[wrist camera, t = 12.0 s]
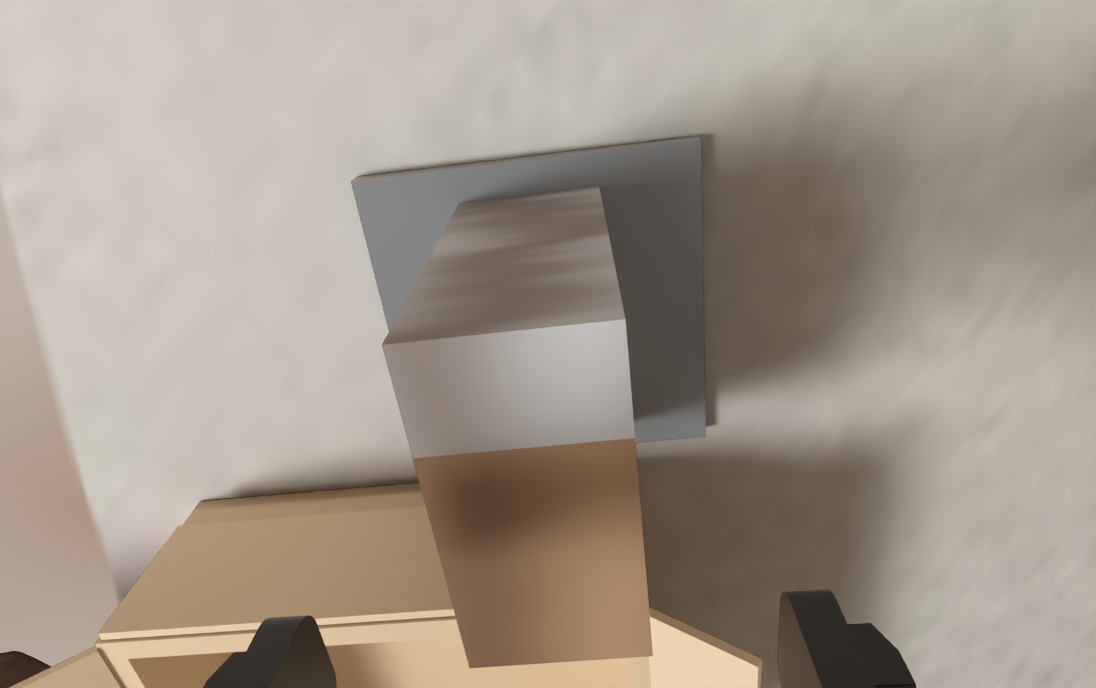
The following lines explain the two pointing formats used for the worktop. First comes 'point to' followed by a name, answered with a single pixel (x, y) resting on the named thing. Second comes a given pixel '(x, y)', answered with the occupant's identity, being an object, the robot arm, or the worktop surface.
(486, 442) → the block
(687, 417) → the plate
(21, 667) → the plant pot
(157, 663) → the carton
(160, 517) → the worktop surface
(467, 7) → the worktop surface
